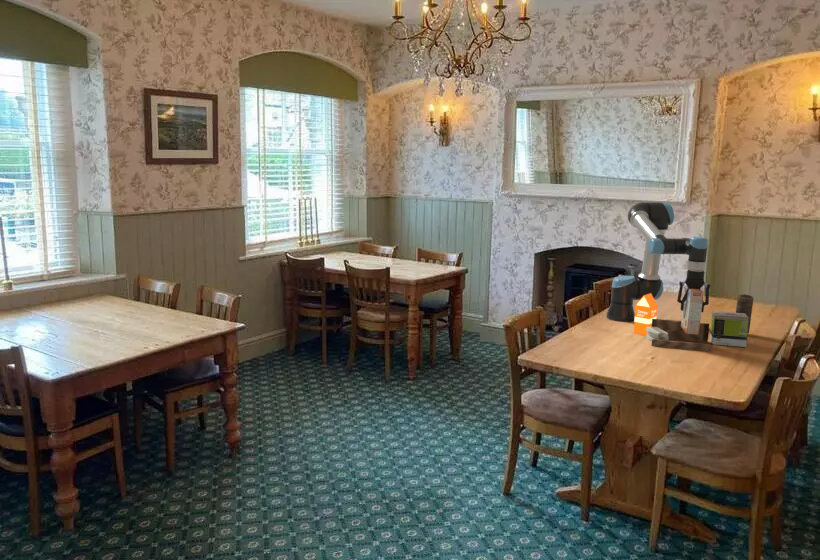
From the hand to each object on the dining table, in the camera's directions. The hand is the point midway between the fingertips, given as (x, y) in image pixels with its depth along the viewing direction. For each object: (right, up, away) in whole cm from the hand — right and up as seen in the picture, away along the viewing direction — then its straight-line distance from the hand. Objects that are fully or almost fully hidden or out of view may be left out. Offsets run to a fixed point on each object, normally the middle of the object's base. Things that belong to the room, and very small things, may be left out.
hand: (691, 317), depth 319 cm
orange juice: (-14, -9, +22) cm, 28 cm away
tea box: (+20, -13, +5) cm, 24 cm away
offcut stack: (-14, -12, +6) cm, 19 cm away
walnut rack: (-4, -13, +3) cm, 13 cm away
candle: (+35, -10, +24) cm, 44 cm away
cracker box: (0, -7, +1) cm, 7 cm away
